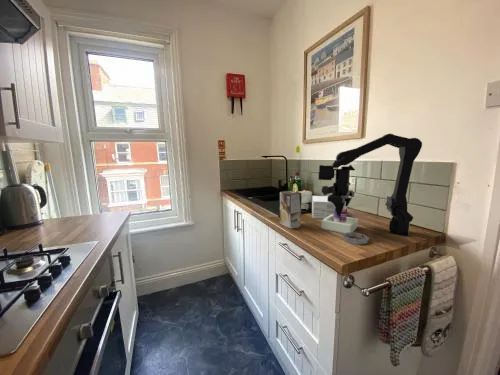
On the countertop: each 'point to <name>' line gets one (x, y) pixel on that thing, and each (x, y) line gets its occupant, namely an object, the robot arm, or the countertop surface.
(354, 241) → the collar
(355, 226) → the bin
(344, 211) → the pill bottle
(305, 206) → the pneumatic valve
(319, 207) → the supplement box
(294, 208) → the coffee box
